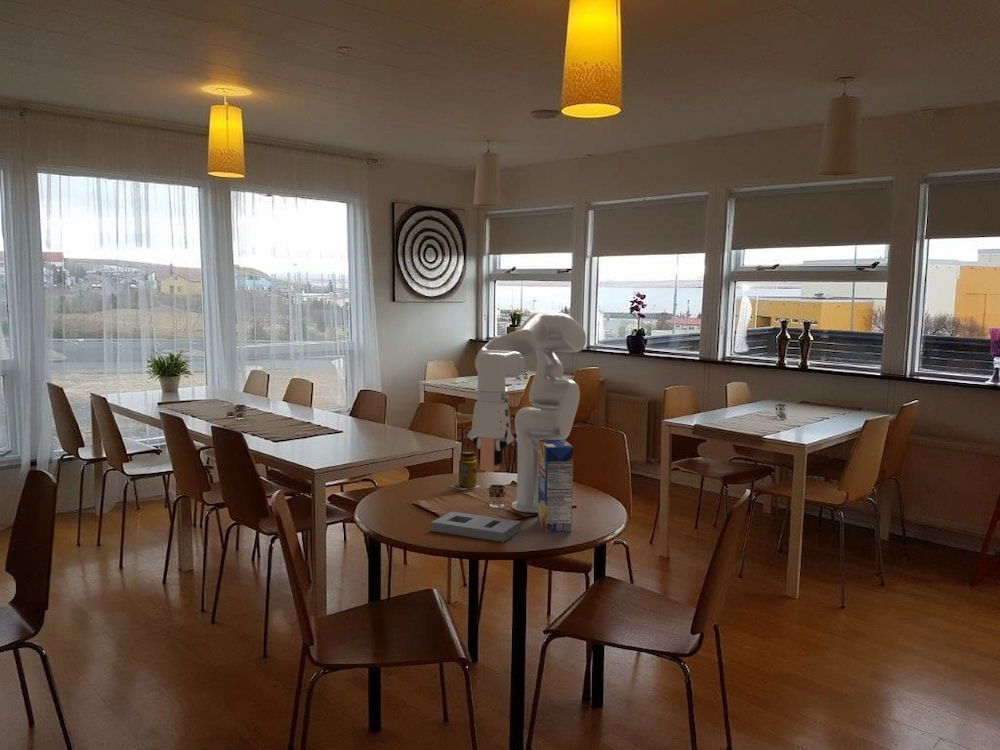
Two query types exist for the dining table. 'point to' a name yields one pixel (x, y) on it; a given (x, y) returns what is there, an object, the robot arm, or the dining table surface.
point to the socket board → (476, 526)
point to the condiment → (467, 471)
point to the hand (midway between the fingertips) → (490, 462)
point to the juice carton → (555, 485)
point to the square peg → (488, 455)
